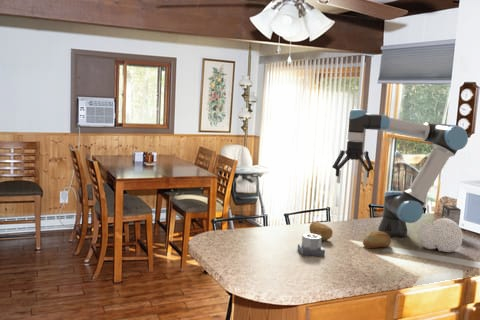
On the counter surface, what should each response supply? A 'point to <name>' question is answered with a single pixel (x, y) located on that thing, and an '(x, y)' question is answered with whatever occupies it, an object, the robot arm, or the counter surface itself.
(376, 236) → the bread roll
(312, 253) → the pillow block
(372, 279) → the counter surface
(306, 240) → the hub
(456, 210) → the coffee box
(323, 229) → the potato
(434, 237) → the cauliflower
